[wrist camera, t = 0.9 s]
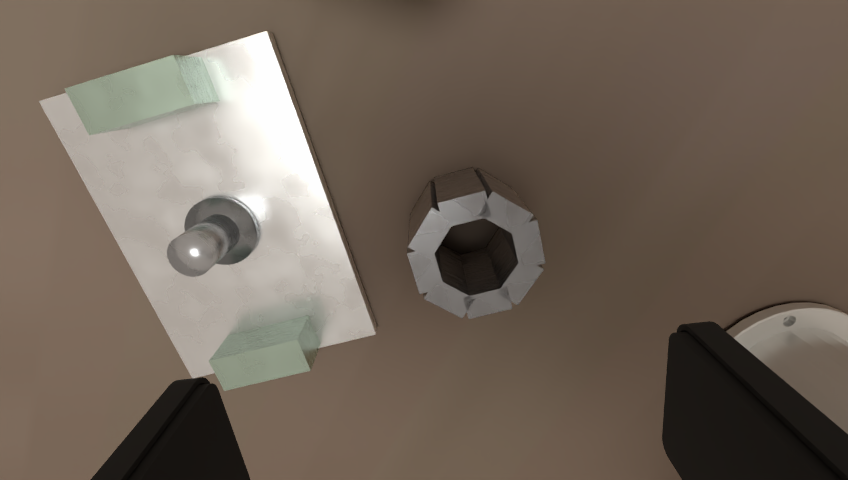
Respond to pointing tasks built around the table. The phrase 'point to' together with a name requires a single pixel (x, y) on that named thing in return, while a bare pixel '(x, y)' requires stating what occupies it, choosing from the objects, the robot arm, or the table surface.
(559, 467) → the table surface
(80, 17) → the table surface
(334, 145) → the table surface
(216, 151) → the seat
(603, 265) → the table surface
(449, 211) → the hub
